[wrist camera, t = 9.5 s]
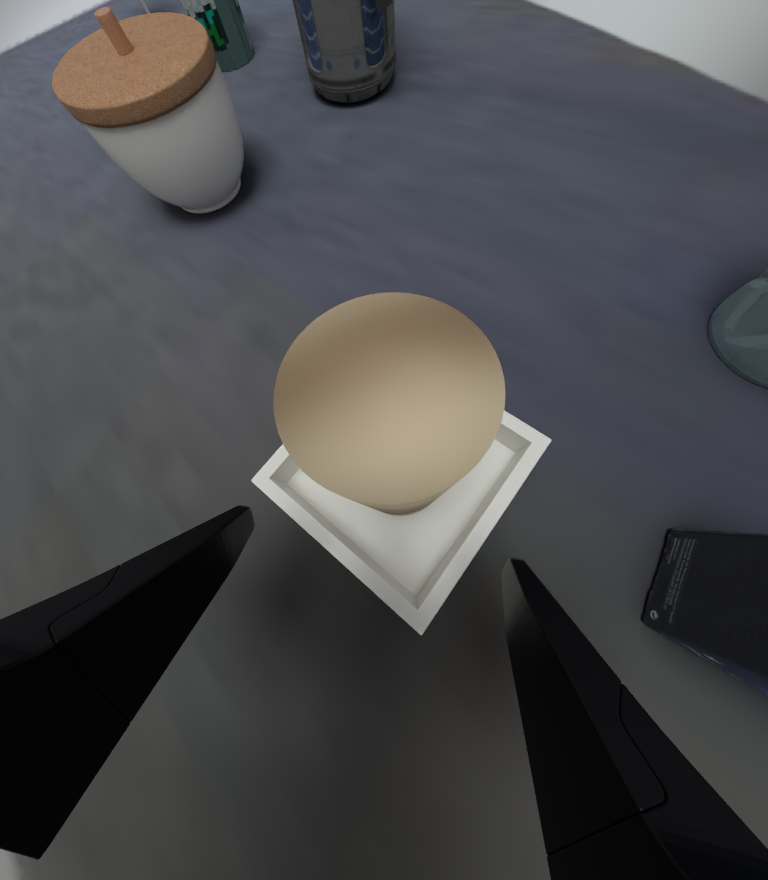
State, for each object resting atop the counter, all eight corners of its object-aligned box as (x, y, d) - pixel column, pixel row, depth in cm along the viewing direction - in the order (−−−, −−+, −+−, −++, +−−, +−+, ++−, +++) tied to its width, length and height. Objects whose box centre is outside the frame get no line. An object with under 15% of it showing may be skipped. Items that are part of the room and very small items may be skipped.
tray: (526, 454, 19) (551, 440, 16) (418, 613, 17) (421, 635, 14) (384, 361, 22) (380, 333, 19) (276, 487, 20) (250, 480, 17)
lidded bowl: (158, 164, 32) (36, -10, 22) (263, 141, 32) (191, -49, 21) (148, 244, 28) (-5, 81, 18) (267, 219, 28) (183, 37, 18)
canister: (461, 490, 18) (555, 435, 6) (377, 531, 18) (320, 549, 6) (419, 413, 20) (434, 263, 8) (341, 449, 19) (246, 345, 8)
